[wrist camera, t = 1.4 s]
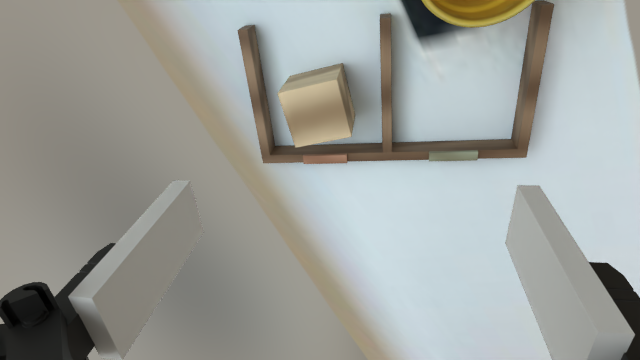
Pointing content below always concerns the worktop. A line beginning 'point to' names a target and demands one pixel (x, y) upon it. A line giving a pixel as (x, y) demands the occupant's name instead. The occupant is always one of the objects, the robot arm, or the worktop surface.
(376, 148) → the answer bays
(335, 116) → the oak block
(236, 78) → the worktop surface
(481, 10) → the plant pot
